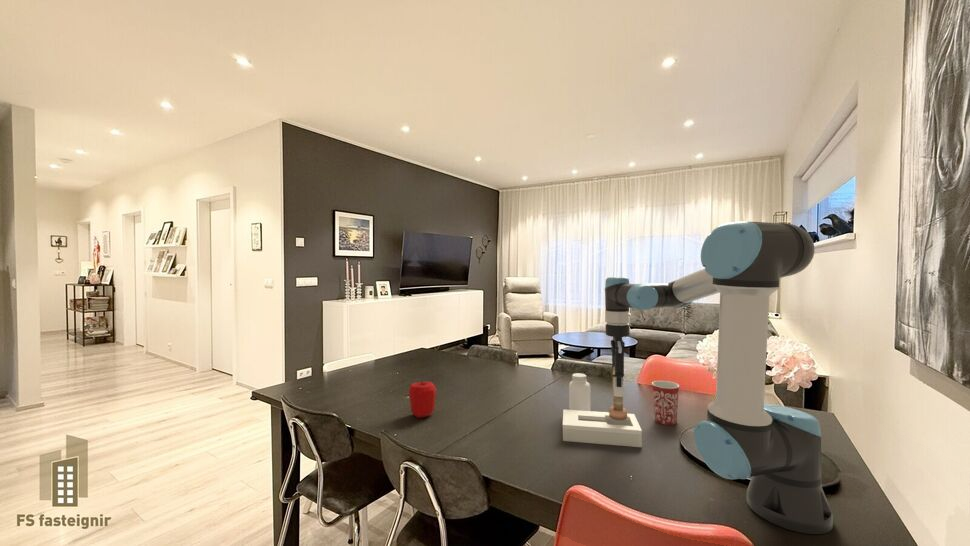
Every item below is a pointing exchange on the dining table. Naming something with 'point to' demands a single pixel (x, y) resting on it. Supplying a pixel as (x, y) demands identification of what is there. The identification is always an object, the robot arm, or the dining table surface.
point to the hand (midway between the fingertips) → (617, 394)
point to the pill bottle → (579, 393)
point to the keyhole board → (601, 428)
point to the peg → (617, 406)
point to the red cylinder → (422, 398)
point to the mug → (665, 401)
